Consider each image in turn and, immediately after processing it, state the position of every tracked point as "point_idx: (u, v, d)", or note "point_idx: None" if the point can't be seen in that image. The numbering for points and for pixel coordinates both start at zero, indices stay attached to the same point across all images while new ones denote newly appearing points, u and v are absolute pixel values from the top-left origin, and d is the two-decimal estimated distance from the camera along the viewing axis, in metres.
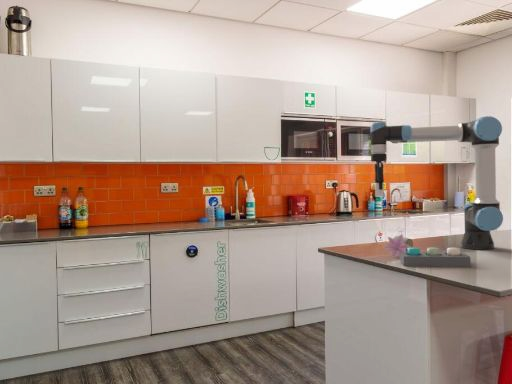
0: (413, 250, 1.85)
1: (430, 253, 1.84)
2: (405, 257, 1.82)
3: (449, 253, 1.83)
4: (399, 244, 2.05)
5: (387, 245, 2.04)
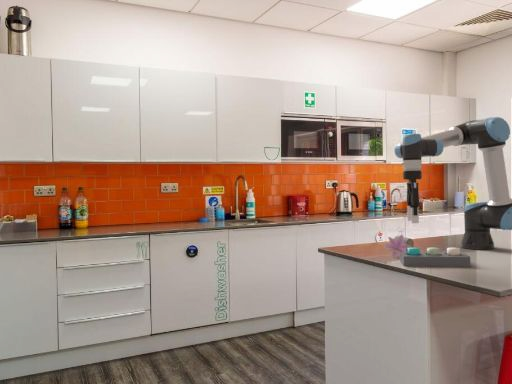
0: (413, 250, 1.85)
1: (430, 253, 1.84)
2: (405, 257, 1.82)
3: (449, 253, 1.83)
4: (400, 244, 2.05)
5: (387, 245, 2.04)
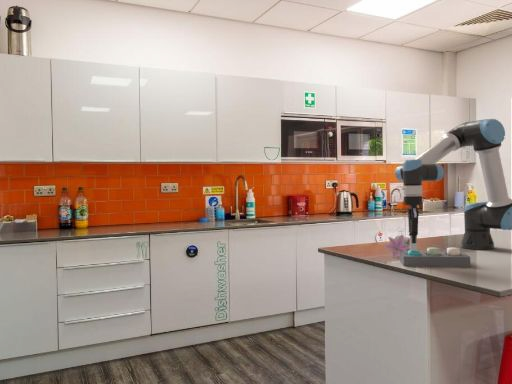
0: (413, 253, 1.85)
1: (430, 253, 1.84)
2: (405, 257, 1.82)
3: (449, 253, 1.83)
4: (400, 244, 2.05)
5: (388, 245, 2.03)
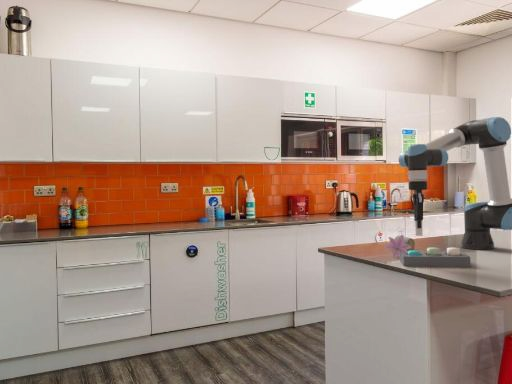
0: (413, 253, 1.85)
1: (430, 253, 1.84)
2: (405, 257, 1.82)
3: (449, 253, 1.83)
4: (400, 244, 2.04)
5: (388, 245, 2.03)
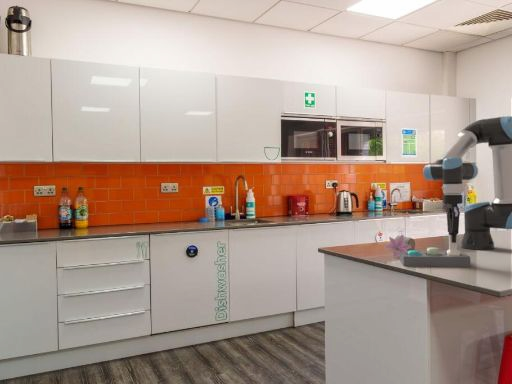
0: (413, 253, 1.85)
1: (430, 253, 1.84)
2: (405, 257, 1.82)
3: (449, 255, 1.83)
4: (400, 244, 2.04)
5: (388, 245, 2.03)
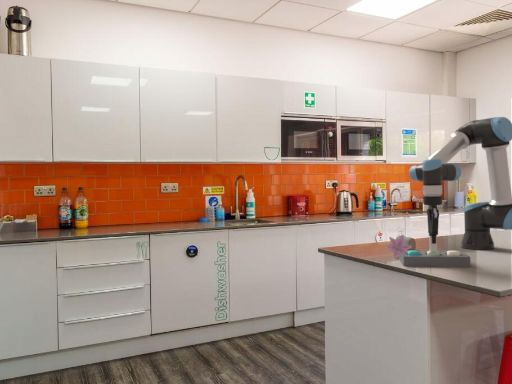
0: (413, 253, 1.85)
1: None
2: (405, 257, 1.82)
3: None
4: (401, 244, 2.04)
5: (389, 245, 2.03)
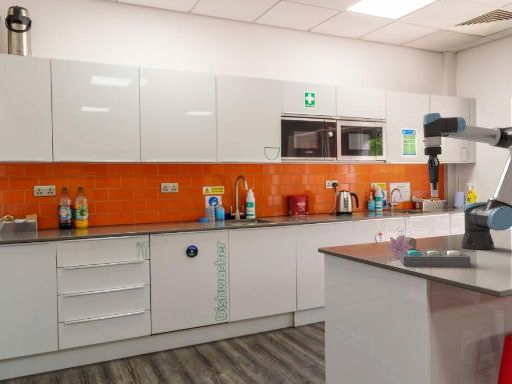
0: (413, 253, 1.85)
1: None
2: (405, 257, 1.82)
3: None
4: (401, 245, 2.04)
5: (389, 245, 2.03)
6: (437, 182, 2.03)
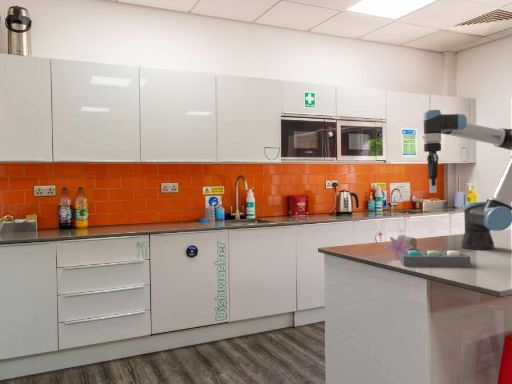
0: (413, 253, 1.85)
1: None
2: (405, 257, 1.82)
3: None
4: (401, 245, 2.04)
5: (389, 245, 2.03)
6: (436, 178, 2.06)
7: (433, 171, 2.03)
